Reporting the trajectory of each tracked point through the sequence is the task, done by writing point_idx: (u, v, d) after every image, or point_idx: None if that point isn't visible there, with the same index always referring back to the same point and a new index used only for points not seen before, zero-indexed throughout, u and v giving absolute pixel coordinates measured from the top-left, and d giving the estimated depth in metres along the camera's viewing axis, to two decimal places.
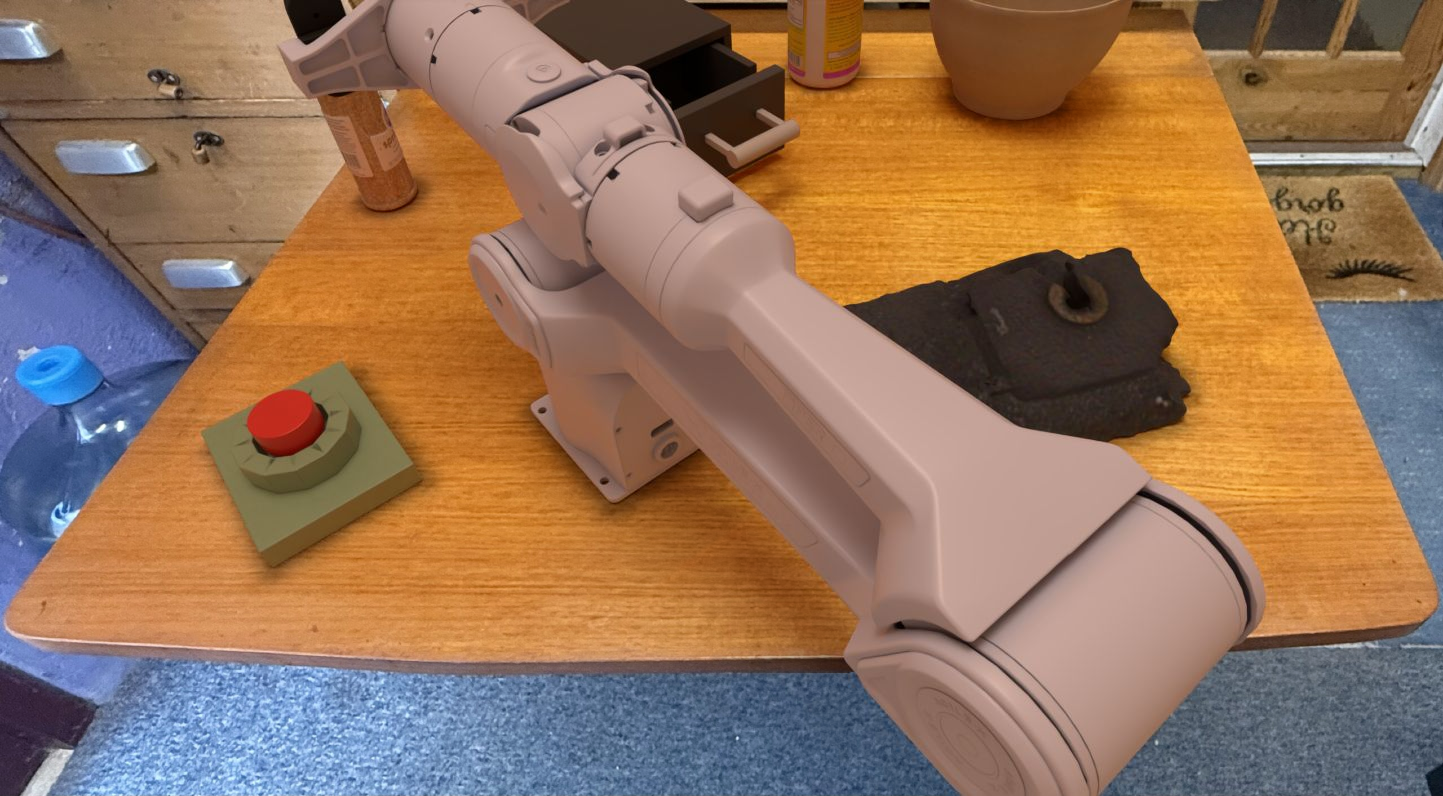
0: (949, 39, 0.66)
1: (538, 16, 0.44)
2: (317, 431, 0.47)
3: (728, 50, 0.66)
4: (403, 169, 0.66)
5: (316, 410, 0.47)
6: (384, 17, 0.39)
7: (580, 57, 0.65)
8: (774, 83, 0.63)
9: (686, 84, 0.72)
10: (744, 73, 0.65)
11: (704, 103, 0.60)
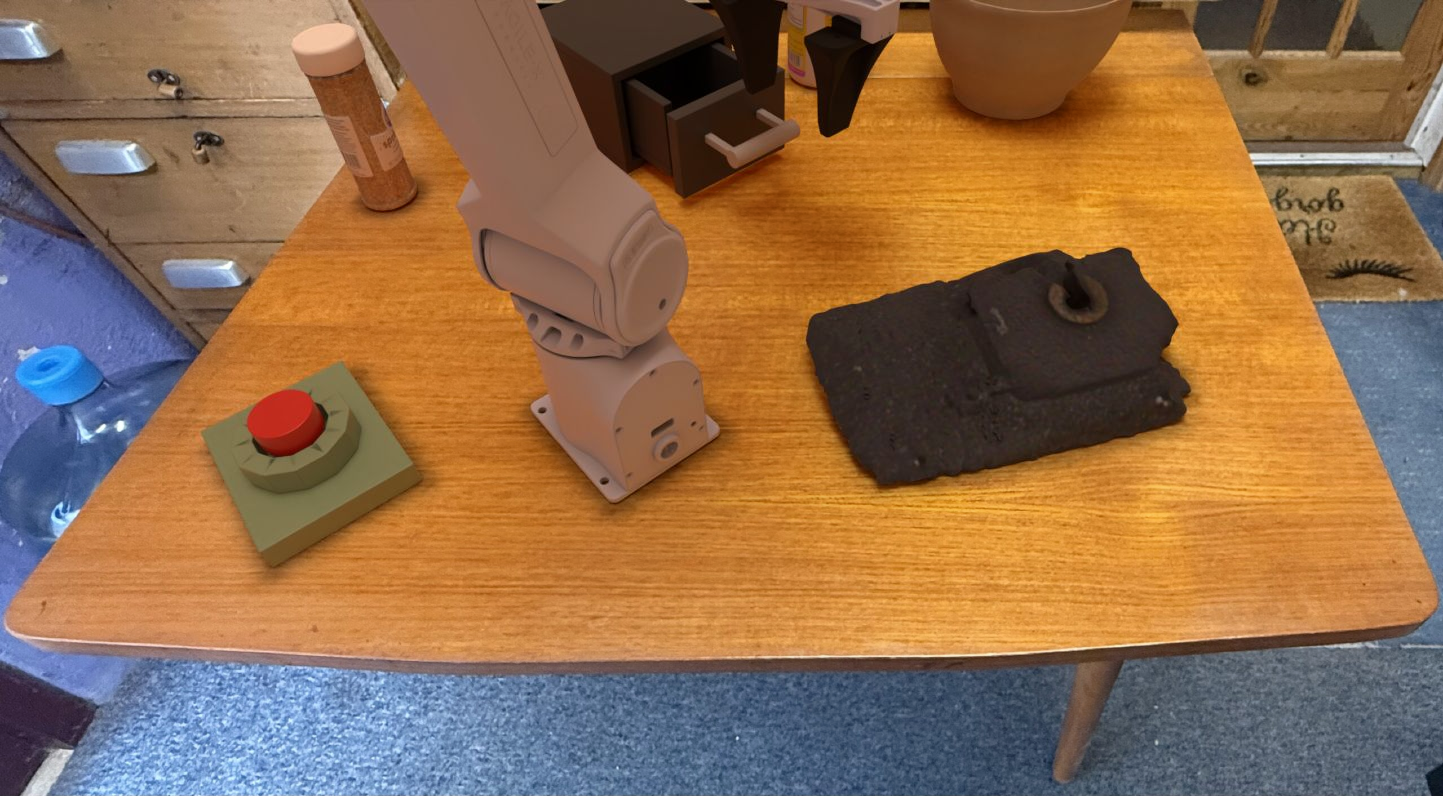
0: (949, 39, 0.66)
1: (847, 0, 0.46)
2: (317, 431, 0.47)
3: (728, 50, 0.66)
4: (403, 169, 0.66)
5: (316, 410, 0.47)
6: None
7: (580, 57, 0.65)
8: None
9: (686, 84, 0.72)
10: None
11: (704, 103, 0.60)
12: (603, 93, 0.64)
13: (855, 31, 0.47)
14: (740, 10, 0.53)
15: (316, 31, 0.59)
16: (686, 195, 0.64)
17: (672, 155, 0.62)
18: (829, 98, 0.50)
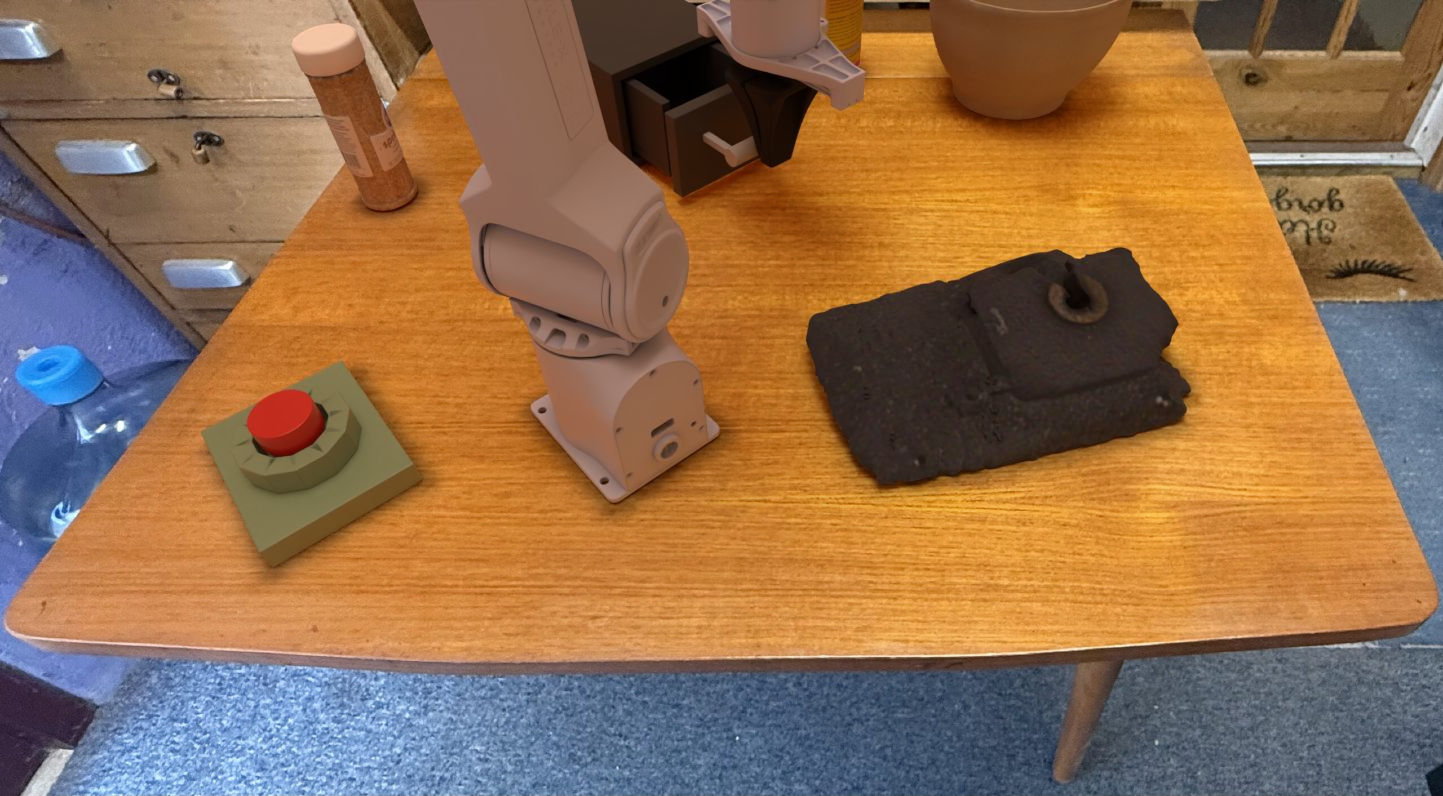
0: (949, 39, 0.66)
1: (817, 72, 0.51)
2: (317, 431, 0.47)
3: (726, 49, 0.66)
4: (403, 169, 0.66)
5: (316, 410, 0.47)
6: None
7: None
8: None
9: (684, 83, 0.72)
10: None
11: (702, 102, 0.60)
12: (603, 93, 0.64)
13: (789, 79, 0.54)
14: None
15: (316, 31, 0.59)
16: (684, 194, 0.64)
17: (670, 154, 0.62)
18: (770, 135, 0.57)
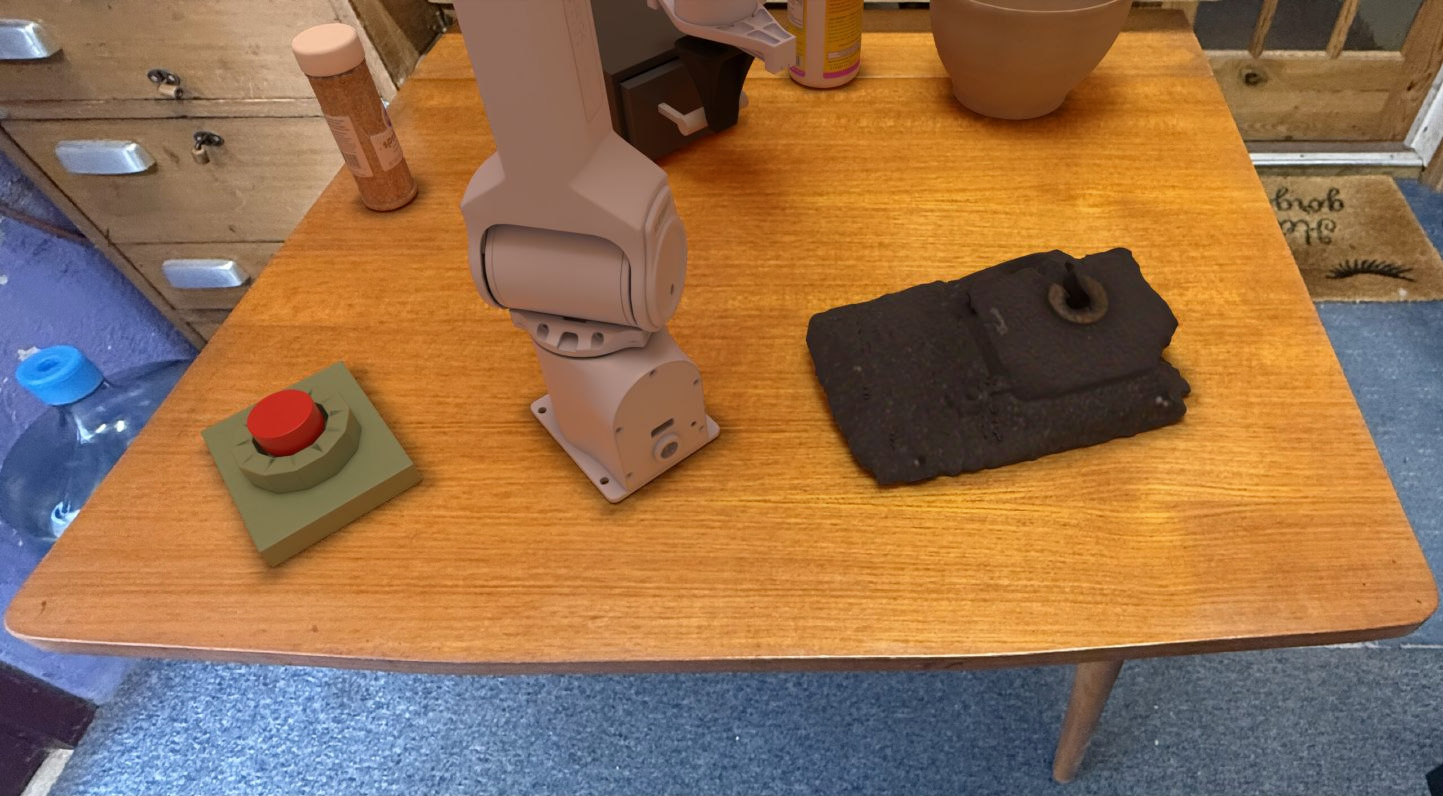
0: (949, 39, 0.66)
1: (751, 37, 0.54)
2: (317, 431, 0.47)
3: None
4: (403, 169, 0.66)
5: (316, 410, 0.47)
6: None
7: None
8: None
9: None
10: None
11: (656, 73, 0.64)
12: None
13: (724, 44, 0.57)
14: None
15: (316, 31, 0.59)
16: None
17: (627, 124, 0.65)
18: (710, 99, 0.61)
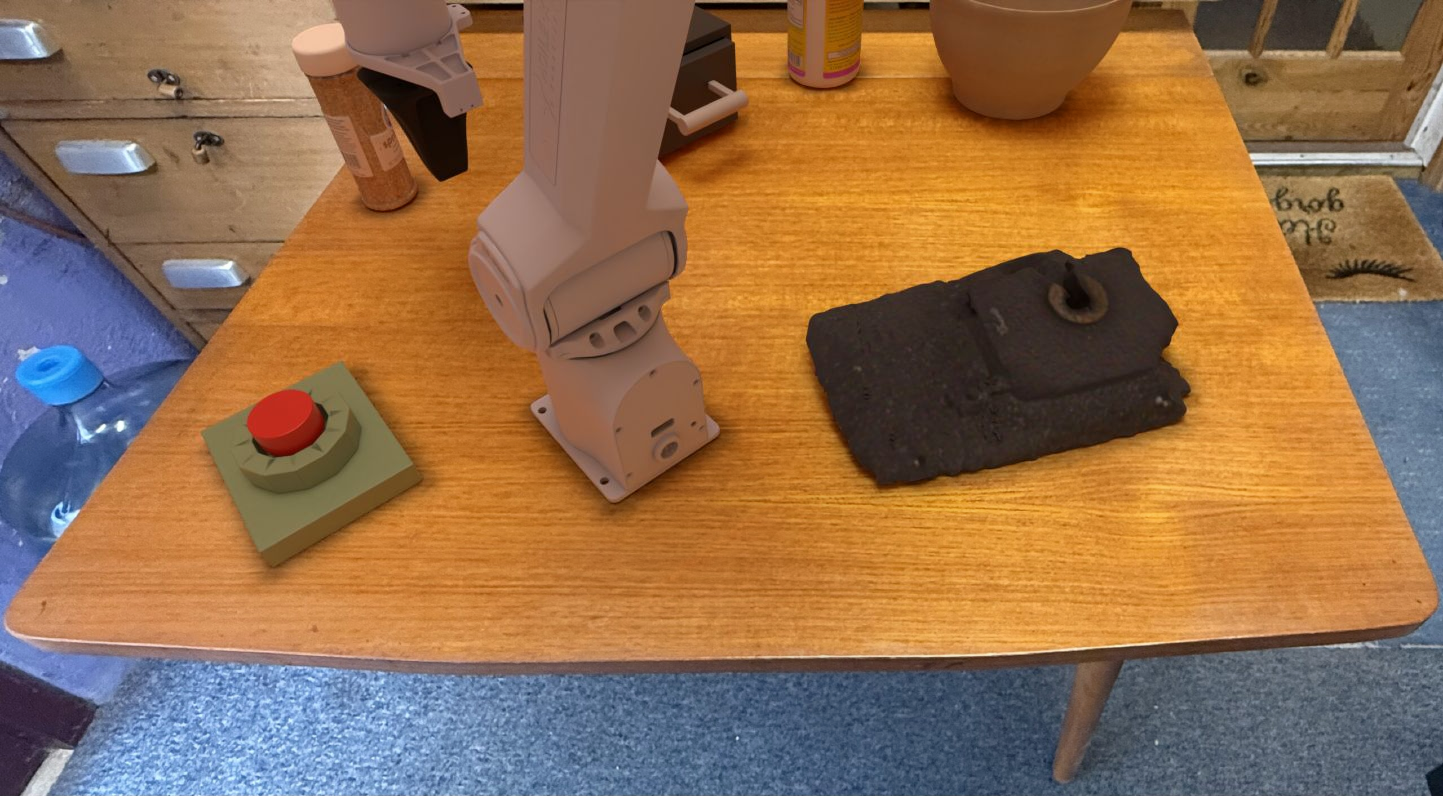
0: (949, 39, 0.66)
1: (420, 71, 0.43)
2: (317, 431, 0.47)
3: None
4: (403, 169, 0.66)
5: (316, 410, 0.47)
6: None
7: None
8: (725, 55, 0.66)
9: None
10: None
11: None
12: None
13: None
14: None
15: (316, 31, 0.59)
16: None
17: None
18: (419, 144, 0.50)
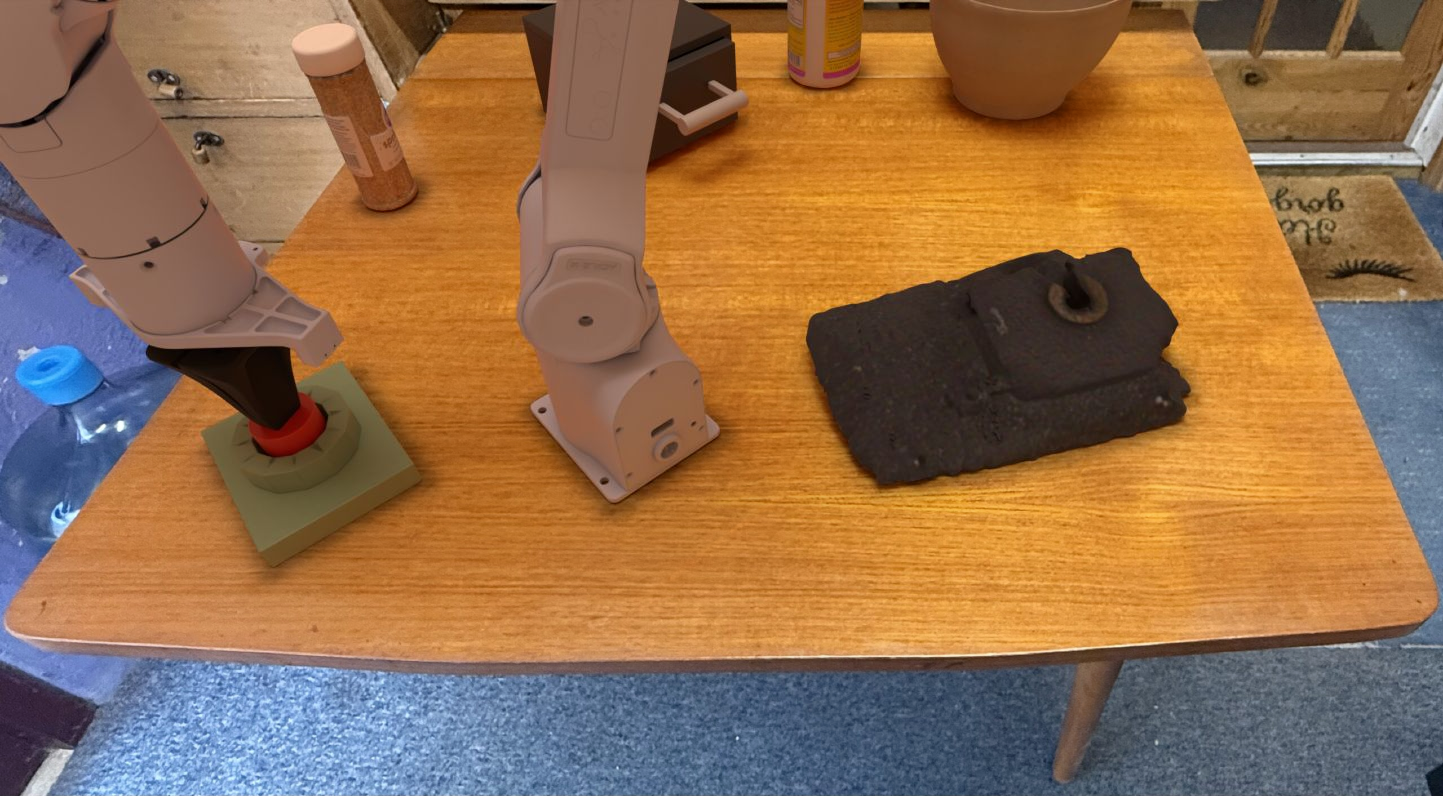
0: (949, 39, 0.66)
1: (263, 332, 0.38)
2: (318, 433, 0.47)
3: None
4: (403, 169, 0.66)
5: (317, 412, 0.47)
6: None
7: None
8: (725, 55, 0.66)
9: None
10: None
11: None
12: None
13: None
14: None
15: (316, 31, 0.59)
16: None
17: None
18: (251, 403, 0.43)
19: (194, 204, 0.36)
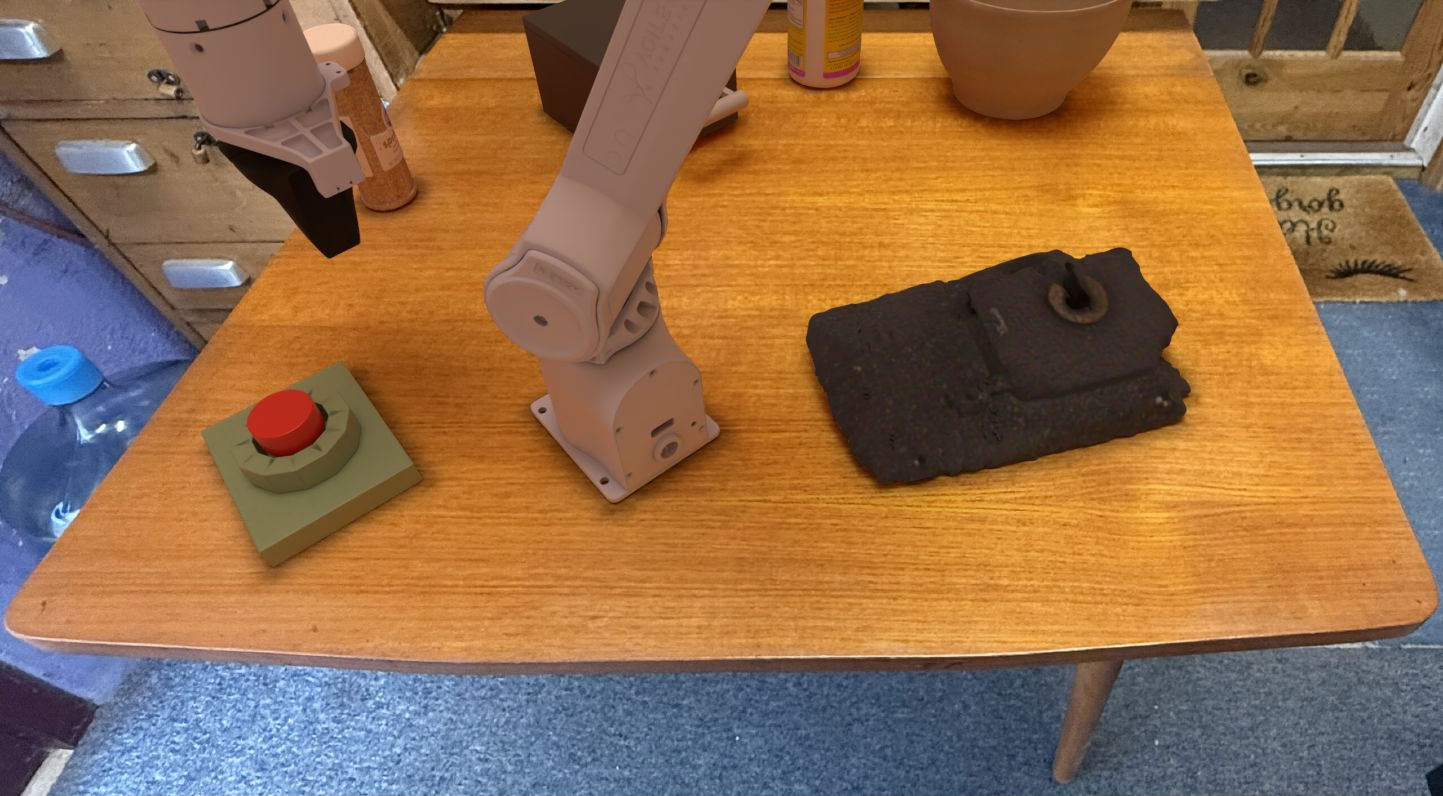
0: (949, 39, 0.66)
1: (286, 146, 0.37)
2: (317, 431, 0.47)
3: None
4: (403, 169, 0.66)
5: (316, 410, 0.47)
6: None
7: (580, 57, 0.65)
8: None
9: None
10: None
11: None
12: None
13: None
14: None
15: (316, 31, 0.59)
16: None
17: None
18: (298, 221, 0.43)
19: (254, 0, 0.35)
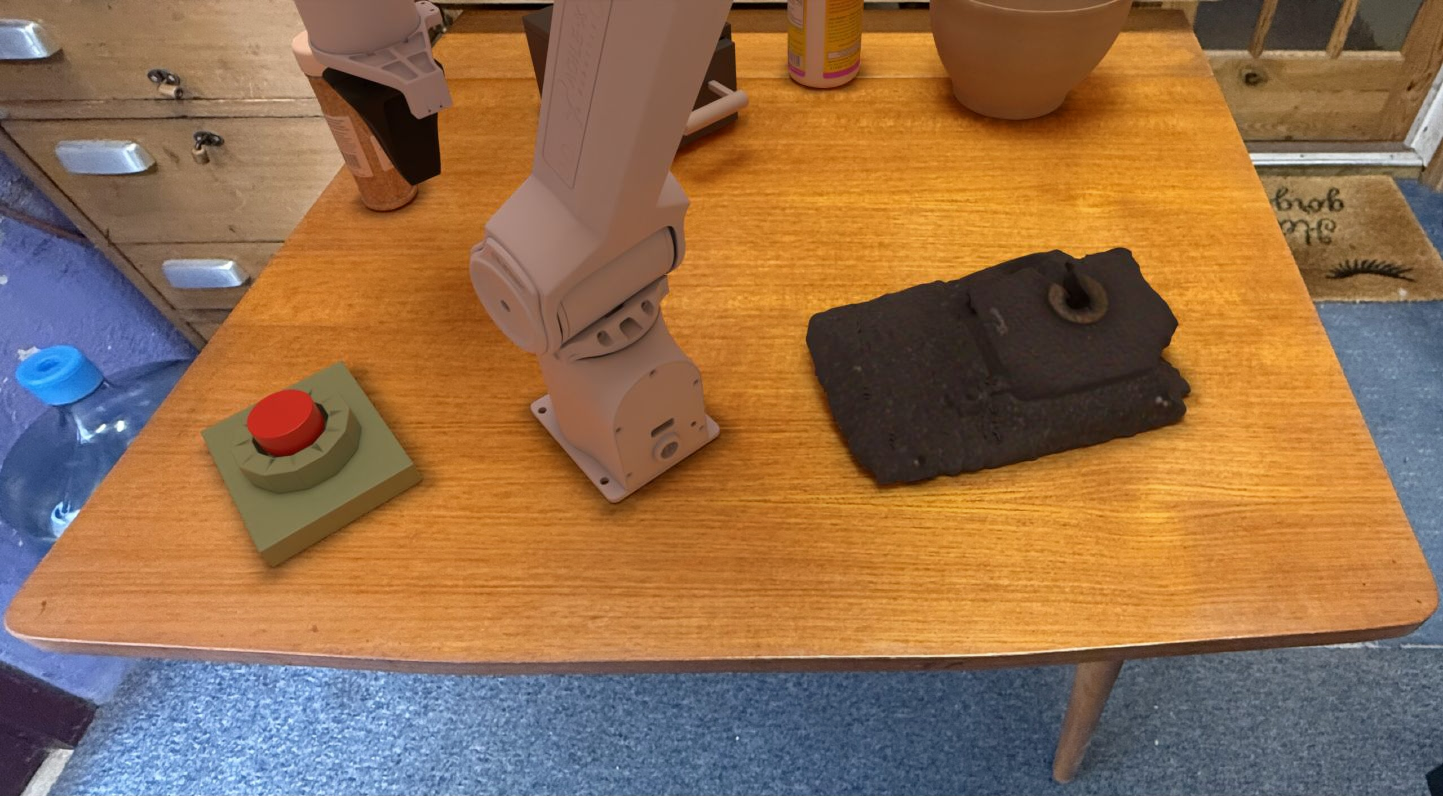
0: (949, 39, 0.66)
1: (386, 71, 0.41)
2: (317, 431, 0.47)
3: None
4: None
5: (316, 410, 0.47)
6: None
7: None
8: (725, 55, 0.66)
9: None
10: None
11: None
12: None
13: None
14: None
15: None
16: None
17: None
18: (388, 147, 0.48)
19: None
